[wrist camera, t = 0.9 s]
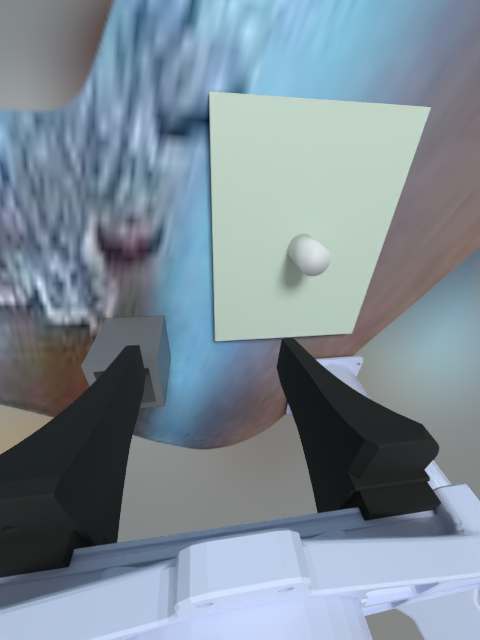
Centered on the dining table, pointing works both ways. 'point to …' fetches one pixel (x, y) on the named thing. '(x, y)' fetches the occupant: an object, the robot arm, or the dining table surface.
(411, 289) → the dining table surface
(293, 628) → the robot arm
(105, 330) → the duct sleeve
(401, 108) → the duct base
